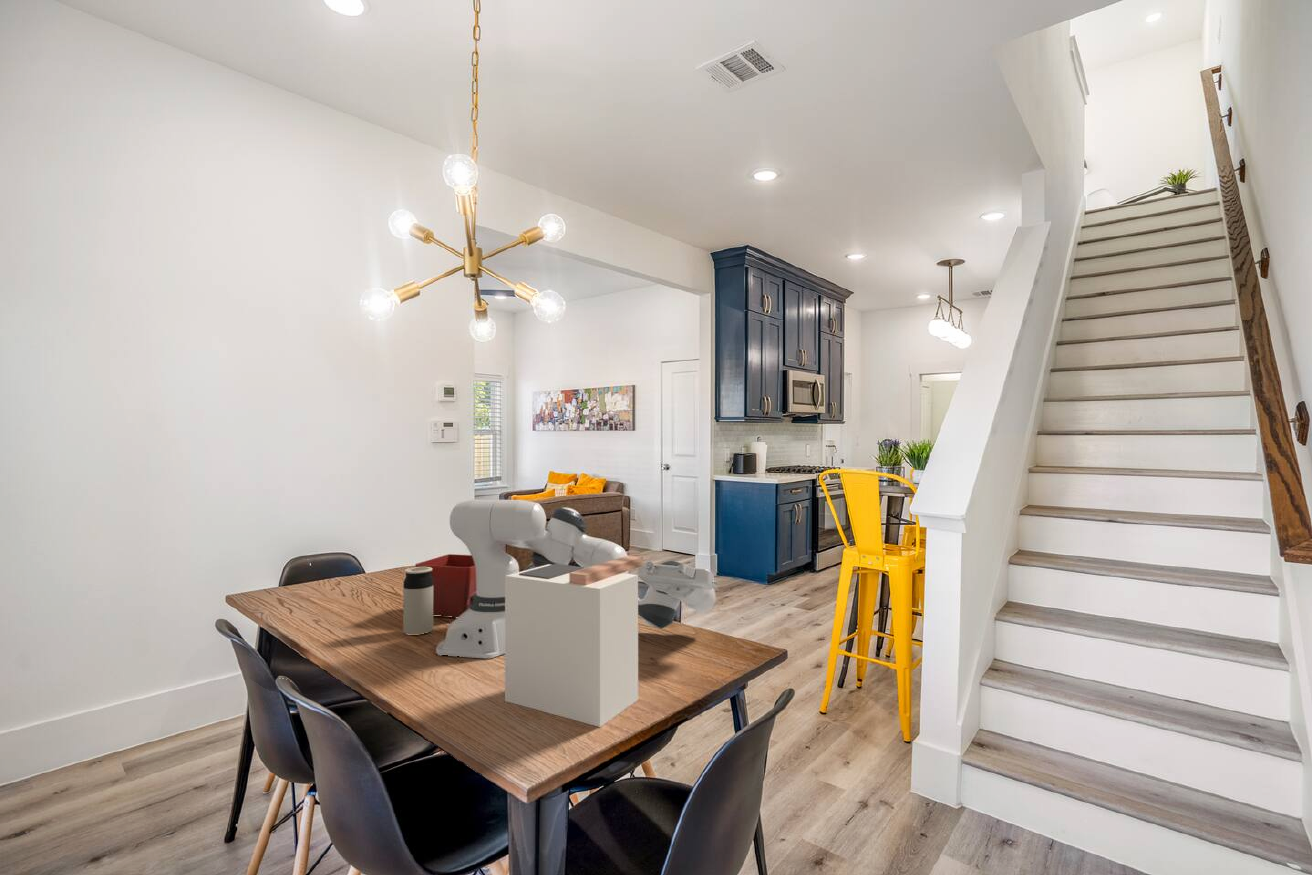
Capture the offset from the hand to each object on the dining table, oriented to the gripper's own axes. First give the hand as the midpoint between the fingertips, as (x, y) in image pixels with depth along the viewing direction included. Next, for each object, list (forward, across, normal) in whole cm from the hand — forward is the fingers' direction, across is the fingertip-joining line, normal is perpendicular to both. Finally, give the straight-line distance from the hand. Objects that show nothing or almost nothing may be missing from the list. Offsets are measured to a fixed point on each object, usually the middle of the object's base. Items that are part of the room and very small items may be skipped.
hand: (663, 566), depth 148 cm
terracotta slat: (+23, 0, -10) cm, 25 cm away
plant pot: (-18, +78, -17) cm, 82 cm away
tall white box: (+15, +6, -35) cm, 38 cm away
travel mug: (0, +73, -26) cm, 77 cm away
